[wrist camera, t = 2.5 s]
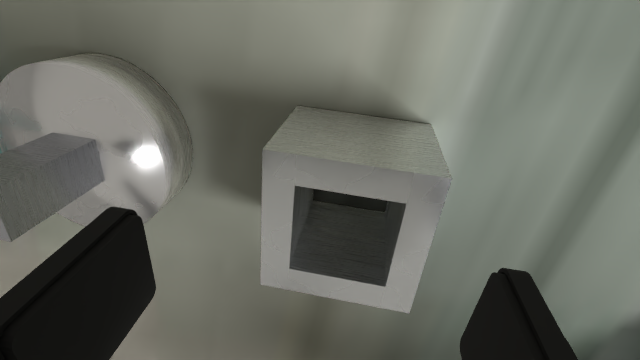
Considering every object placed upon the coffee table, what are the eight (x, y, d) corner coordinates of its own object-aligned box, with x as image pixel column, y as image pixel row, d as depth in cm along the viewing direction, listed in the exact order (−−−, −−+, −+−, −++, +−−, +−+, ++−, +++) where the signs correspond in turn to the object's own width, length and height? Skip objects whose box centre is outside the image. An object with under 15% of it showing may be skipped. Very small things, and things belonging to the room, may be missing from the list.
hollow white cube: (431, 124, 15) (452, 178, 10) (402, 234, 17) (409, 313, 13) (297, 105, 15) (262, 149, 11) (290, 214, 18) (260, 284, 14)
